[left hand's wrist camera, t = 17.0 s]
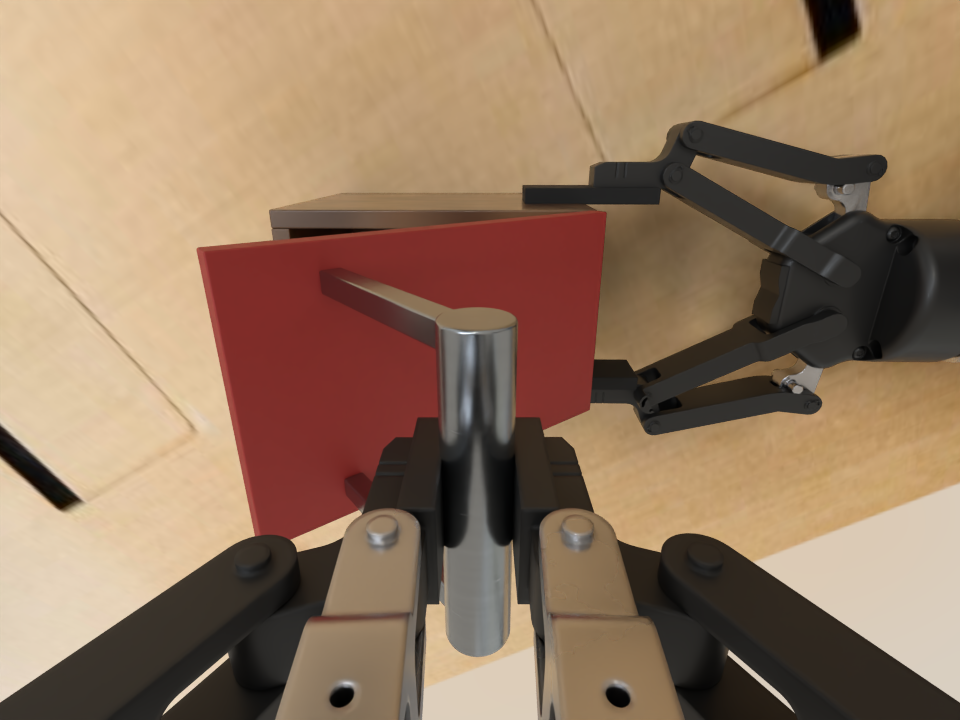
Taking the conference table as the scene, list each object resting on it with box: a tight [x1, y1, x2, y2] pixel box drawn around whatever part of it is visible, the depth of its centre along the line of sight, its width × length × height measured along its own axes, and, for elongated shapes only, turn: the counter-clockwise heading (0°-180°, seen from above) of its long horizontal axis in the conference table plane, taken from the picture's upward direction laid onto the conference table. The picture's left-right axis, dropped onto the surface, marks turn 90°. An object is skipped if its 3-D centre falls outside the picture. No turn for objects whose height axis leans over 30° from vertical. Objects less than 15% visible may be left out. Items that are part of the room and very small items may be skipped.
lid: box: [197, 211, 607, 657], centre depth 16 cm, size 15×9×8 cm
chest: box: [269, 193, 597, 240], centre depth 29 cm, size 14×9×11 cm, turn 90°
